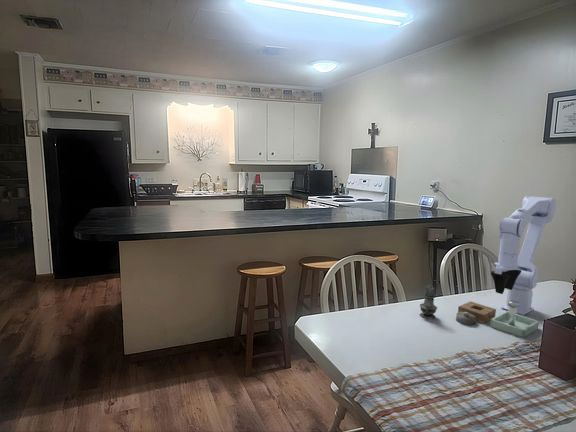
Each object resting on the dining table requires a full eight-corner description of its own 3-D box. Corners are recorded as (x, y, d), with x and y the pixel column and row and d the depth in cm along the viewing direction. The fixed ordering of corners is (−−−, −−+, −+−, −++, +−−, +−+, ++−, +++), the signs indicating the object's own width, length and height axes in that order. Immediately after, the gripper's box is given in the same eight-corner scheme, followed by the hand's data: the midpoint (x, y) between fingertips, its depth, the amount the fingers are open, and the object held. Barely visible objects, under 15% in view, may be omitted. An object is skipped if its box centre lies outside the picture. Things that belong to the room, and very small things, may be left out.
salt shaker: (437, 320, 128) (441, 287, 127) (420, 318, 130) (423, 285, 128) (434, 313, 134) (437, 281, 132) (417, 312, 135) (420, 280, 134)
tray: (505, 317, 132) (506, 311, 132) (538, 328, 124) (539, 321, 124) (489, 326, 125) (490, 319, 124) (523, 338, 117) (524, 330, 116)
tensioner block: (469, 308, 140) (470, 301, 139) (495, 317, 133) (496, 309, 132) (448, 318, 130) (449, 310, 130) (474, 328, 123) (475, 319, 123)
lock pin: (507, 321, 127) (510, 299, 126) (517, 325, 125) (520, 302, 124) (503, 324, 125) (506, 301, 124) (514, 327, 123) (516, 304, 122)
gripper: (505, 248, 135) (500, 284, 137) (487, 252, 126) (482, 291, 128) (526, 252, 130) (521, 289, 132) (509, 257, 121) (504, 297, 123)
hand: (503, 291), depth 129 cm, fingers open, 7 cm apart
